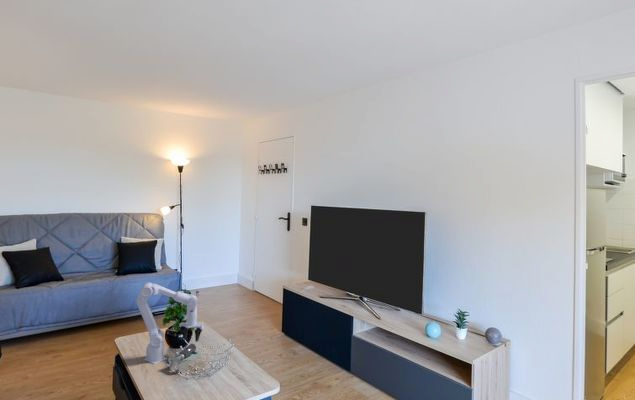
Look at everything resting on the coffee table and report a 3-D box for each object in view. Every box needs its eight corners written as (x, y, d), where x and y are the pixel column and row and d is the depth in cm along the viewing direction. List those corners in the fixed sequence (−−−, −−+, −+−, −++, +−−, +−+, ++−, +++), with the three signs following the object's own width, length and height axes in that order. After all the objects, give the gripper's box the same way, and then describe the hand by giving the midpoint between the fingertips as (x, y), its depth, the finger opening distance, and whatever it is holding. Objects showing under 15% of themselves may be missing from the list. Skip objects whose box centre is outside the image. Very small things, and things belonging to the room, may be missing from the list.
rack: (168, 362, 198) (168, 358, 198) (190, 352, 211) (190, 349, 211) (177, 366, 193) (177, 362, 193) (199, 355, 206) (199, 352, 206)
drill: (185, 360, 197) (181, 352, 197) (179, 362, 198) (175, 355, 198) (197, 349, 207) (194, 342, 207) (191, 352, 209) (187, 344, 209)
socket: (169, 369, 189) (169, 358, 189) (178, 365, 194) (179, 354, 194) (178, 374, 185) (179, 362, 185) (188, 369, 190) (188, 358, 190)
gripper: (176, 317, 203) (175, 341, 203) (199, 320, 200) (198, 344, 200) (183, 314, 210) (183, 336, 210) (205, 316, 207) (205, 339, 207)
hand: (191, 340), depth 206 cm, fingers open, 7 cm apart
